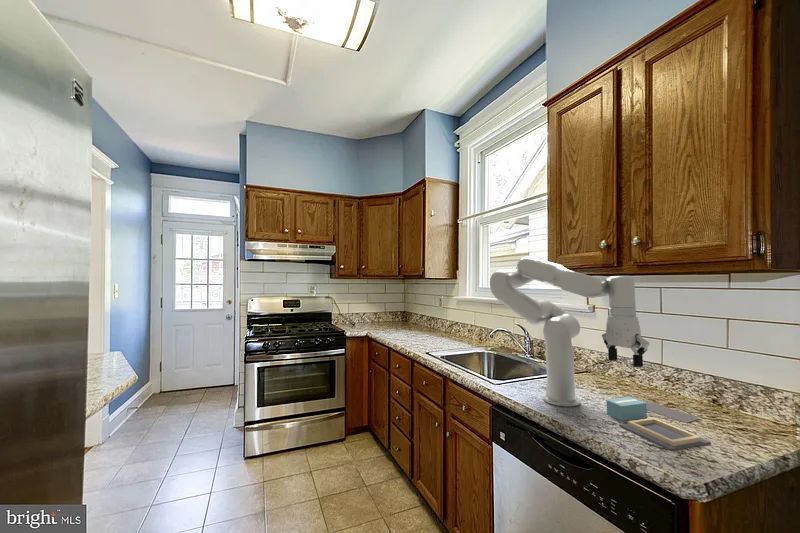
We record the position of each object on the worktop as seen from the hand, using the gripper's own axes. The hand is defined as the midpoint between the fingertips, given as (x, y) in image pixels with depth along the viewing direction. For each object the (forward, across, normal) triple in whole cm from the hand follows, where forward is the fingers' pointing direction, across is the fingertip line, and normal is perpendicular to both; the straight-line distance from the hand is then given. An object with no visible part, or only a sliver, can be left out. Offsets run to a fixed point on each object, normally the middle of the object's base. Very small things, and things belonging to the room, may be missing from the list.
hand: (625, 363), depth 117 cm
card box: (+18, 0, 0) cm, 18 cm away
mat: (+18, +14, -2) cm, 22 cm away
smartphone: (+18, +2, +15) cm, 23 cm away
